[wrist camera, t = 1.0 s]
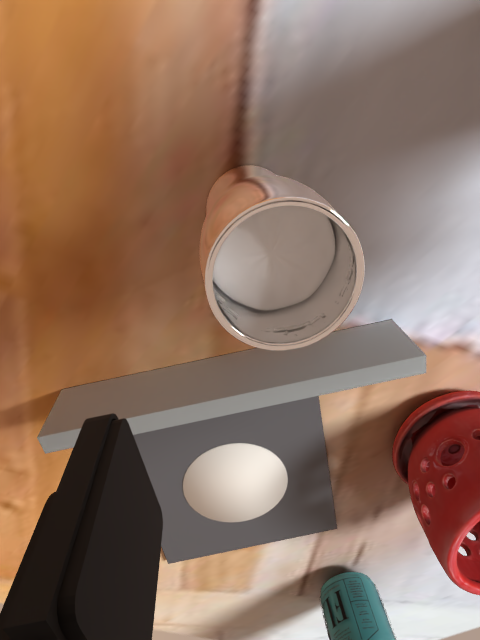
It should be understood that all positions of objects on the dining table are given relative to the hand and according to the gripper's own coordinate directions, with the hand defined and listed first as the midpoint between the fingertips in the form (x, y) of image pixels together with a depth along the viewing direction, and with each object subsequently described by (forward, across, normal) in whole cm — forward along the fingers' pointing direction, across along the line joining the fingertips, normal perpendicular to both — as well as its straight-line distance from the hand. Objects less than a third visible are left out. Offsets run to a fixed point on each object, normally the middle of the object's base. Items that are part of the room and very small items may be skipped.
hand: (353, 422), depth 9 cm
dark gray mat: (+24, +6, +25) cm, 35 cm away
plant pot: (+24, -15, +25) cm, 38 cm away
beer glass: (+24, 0, 0) cm, 24 cm away
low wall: (+24, +4, +12) cm, 27 cm away
